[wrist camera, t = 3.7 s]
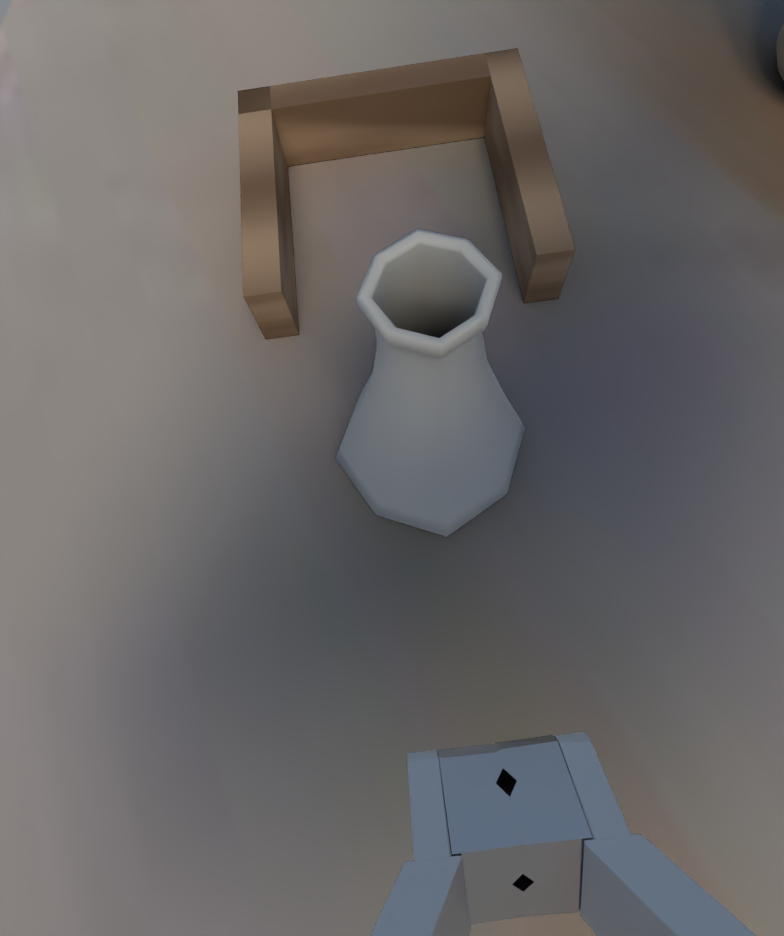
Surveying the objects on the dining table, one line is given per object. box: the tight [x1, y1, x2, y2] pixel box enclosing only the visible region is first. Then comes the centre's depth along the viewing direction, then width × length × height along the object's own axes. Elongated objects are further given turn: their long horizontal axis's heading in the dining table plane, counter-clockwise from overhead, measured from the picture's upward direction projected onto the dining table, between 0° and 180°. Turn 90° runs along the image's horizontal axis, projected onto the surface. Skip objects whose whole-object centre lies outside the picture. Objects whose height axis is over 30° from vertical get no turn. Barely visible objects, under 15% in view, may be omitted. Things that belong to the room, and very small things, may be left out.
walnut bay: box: [238, 48, 576, 339], centre depth 24 cm, size 12×13×3 cm
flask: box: [335, 228, 525, 537], centre depth 17 cm, size 7×7×10 cm
